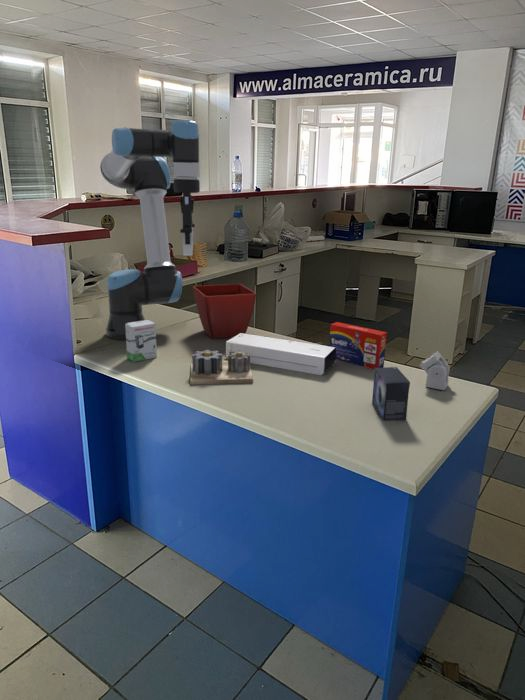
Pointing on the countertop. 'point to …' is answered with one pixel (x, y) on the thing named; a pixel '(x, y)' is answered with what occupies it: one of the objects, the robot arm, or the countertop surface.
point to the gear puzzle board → (227, 371)
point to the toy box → (358, 345)
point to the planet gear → (207, 362)
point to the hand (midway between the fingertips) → (188, 252)
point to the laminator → (283, 353)
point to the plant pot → (224, 308)
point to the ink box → (141, 340)
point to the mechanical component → (436, 371)
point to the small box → (390, 393)
